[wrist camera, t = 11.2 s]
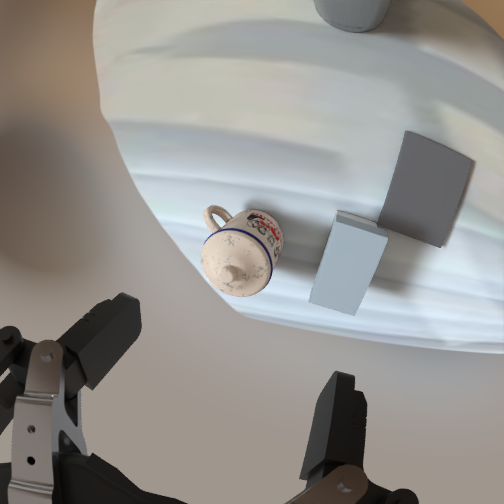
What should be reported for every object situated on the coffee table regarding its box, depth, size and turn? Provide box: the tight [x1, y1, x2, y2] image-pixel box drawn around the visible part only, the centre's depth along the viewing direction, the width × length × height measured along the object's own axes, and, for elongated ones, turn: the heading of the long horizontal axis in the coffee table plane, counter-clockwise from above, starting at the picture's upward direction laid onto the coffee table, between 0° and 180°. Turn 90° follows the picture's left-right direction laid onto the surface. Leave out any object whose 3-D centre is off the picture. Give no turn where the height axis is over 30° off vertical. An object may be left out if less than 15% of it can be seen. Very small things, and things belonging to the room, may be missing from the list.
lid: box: [309, 214, 389, 316], centre depth 33 cm, size 11×6×3 cm, turn 168°
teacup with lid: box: [201, 205, 284, 297], centre depth 37 cm, size 12×9×12 cm
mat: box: [378, 131, 472, 248], centre depth 31 cm, size 13×10×1 cm
